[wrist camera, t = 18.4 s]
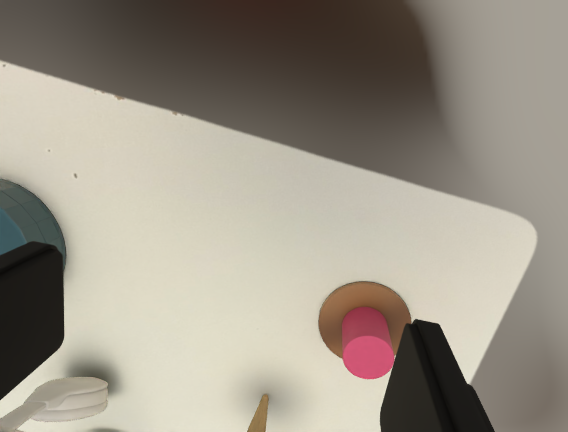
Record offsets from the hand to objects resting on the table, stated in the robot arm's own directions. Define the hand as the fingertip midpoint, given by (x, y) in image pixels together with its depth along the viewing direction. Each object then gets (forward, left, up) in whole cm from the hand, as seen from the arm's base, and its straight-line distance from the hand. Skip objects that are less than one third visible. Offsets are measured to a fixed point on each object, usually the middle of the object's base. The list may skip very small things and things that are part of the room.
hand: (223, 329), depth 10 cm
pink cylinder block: (+16, -4, -26) cm, 31 cm away
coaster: (+16, -4, -26) cm, 31 cm away
